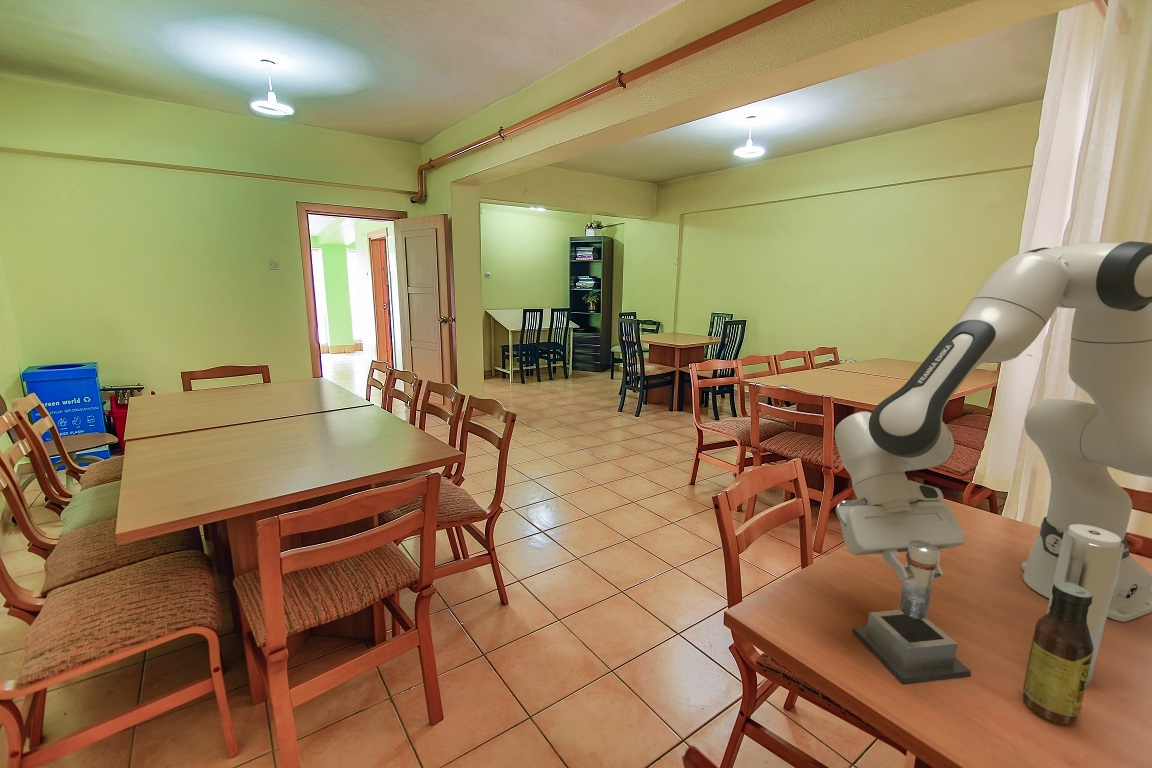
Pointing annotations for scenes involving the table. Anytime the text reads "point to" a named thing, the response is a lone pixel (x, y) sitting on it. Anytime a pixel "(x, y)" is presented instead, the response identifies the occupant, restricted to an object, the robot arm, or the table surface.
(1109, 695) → the table surface
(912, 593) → the cylinder
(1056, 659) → the sauce bottle
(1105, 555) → the silver piece
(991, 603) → the table surface
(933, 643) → the collar
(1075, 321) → the robot arm
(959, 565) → the table surface
